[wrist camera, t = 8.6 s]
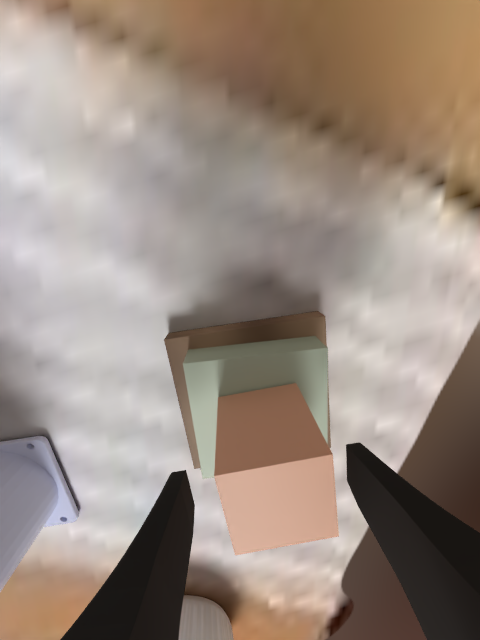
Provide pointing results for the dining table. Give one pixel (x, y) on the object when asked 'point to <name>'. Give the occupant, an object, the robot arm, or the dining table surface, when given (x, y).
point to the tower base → (234, 335)
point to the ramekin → (203, 620)
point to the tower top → (252, 381)
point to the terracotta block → (273, 470)
